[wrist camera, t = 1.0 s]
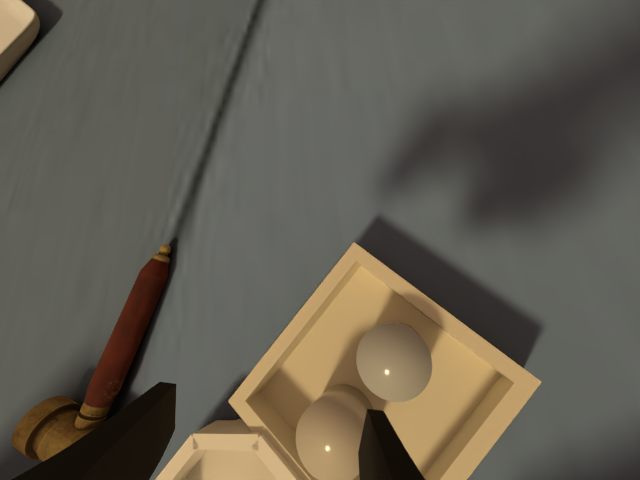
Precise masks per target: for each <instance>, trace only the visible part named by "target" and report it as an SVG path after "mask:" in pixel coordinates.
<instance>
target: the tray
mask: <svg viewBox="0 0 640 480" xmlns="http://www.w3.org/2000/svg"><path fill="white" fill-rule="evenodd" d="M386 322H401V323H404V324H407V325H408V326H410V327H412V328H413V329H414V330H415V331H416V332H417V333H418V334H419V335H420V336H421V338H422V339H423V340H424V342H425V343H426V345H427V347H428V349H429V352H430V354H431V359H432V374H431V378H430V381H429V383H428V385H427V386H426V388H425V389H424V390H423V392H422V393H421V394H419V395H418V396H417V397H415V398H413V399H411V400H408V401H404V402H392V401H388V400H385V399H382V398H380V397H378V396H377V395H375V394H374V393H373V392H371V391H370V390H369V389H368V388H367V387H366V385H365V384H364V382H363V381H362V379H361V377H360V375H359V372H358V368H357V362H356V356H357V349H358V346H359V343H360V341H361V339H362V338H363V337H364V335H365V334H366V333H367V332H368V331H369V330H371V329H372V328H374V327H376V326H378V325H380V324H383V323H386ZM339 384H346V385H351V386H353V387H356V388H357V389H359V390H360V391H361V392H363V393H364V394H365V395H366V397H367V398H368V399H369V401H370V403H371V405H372V407H373V409H374V410H382V411H384V412H385V414H386V416H387V417H388V419H389V421H390V423H391V425H392V426H393V428H394V430H395V432H396V433H397V435H398V437H399V439H400V440H401V442H402V444H403V445H404V447H405V449H406V450H407V452H408V454H409V455H410V457H411V458H412V460H413V461H414V463H415V465H416V466H417V468H418V469H419V471H420V472H421V474H422V475H423V477H424V478H425V480H467V479H468V477H469V476H470V475H471V474H472V472H473V471H474V470H475V468H476V467H477V466H478V464H479V463H480V462H481V460H482V459H483V458H484V457H485V455H486V454H487V453H488V451H489V450H490V449H491V447H492V446H493V445H494V444H495V442H496V441H497V440H498V438H499V437H500V436H501V434H502V433H503V432H504V431H505V429H506V428H507V427H508V425H509V424H510V423H511V421H512V420H513V419H514V418H515V416H516V415H517V414H518V412H519V411H520V410H521V408H522V407H523V406H524V405H525V403H526V402H527V401H528V399H529V398H530V397H531V395H532V394H533V393H534V391H535V390H536V389H537V388H538V386H539V385H540V384H541V381H540V380H538V379H537V378H536V377H534V376H533V375H532V374H530V373H529V372H528V371H526V370H525V369H524V368H522V367H521V366H519V365H518V364H517V363H515V362H514V361H513V360H511V359H510V358H509V357H507V356H506V355H505V354H503V353H502V352H501V351H499V350H498V349H497V348H495V347H494V346H493V345H491V344H490V343H489V342H487V341H486V340H485V339H483V338H482V337H481V336H479V335H478V334H477V333H475V332H474V331H473V330H471V329H470V328H469V327H467V326H466V325H465V324H463V323H462V322H460V321H459V320H458V319H456V318H455V317H454V316H452V315H451V314H450V313H448V312H447V311H446V310H444V309H443V308H442V307H440V306H439V305H438V304H436V303H435V302H434V301H432V300H431V299H430V298H428V297H427V296H426V295H424V294H423V293H422V292H420V291H419V290H418V289H416V288H415V287H414V286H412V285H411V284H410V283H408V282H407V281H406V280H404V279H403V278H401V277H400V276H399V275H397V274H396V273H395V272H393V271H392V270H391V269H389V268H388V267H387V266H385V265H384V264H383V263H381V262H380V261H379V260H377V259H376V258H375V257H373V256H372V255H371V254H369V253H368V252H367V251H365V250H364V249H363V248H361V247H360V246H359V245H357V244H356V243H355V242H354V243H353V244H352V245H351V247H350V248H349V249H348V250H347V252H346V253H345V254H344V255H343V257H342V258H341V259H340V260H339V262H338V263H337V264H336V266H335V267H334V268H333V269H332V271H331V272H330V273H329V274H328V276H327V277H326V278H325V279H324V281H323V282H322V283H321V284H320V286H319V287H318V288H317V289H316V291H315V292H314V293H313V295H312V296H311V297H310V298H309V300H308V301H307V302H306V303H305V305H304V306H303V307H302V308H301V310H300V311H299V312H298V313H297V315H296V316H295V317H294V319H293V320H292V321H291V322H290V324H289V325H288V326H287V327H286V329H285V330H284V331H283V332H282V334H281V335H280V336H279V337H278V339H277V340H276V341H275V342H274V344H273V345H272V346H271V348H270V349H269V350H268V351H267V353H266V354H265V355H264V356H263V358H262V359H261V360H260V361H259V363H258V364H257V365H256V366H255V368H254V369H253V370H252V372H251V373H250V374H249V375H248V377H247V378H246V379H245V380H244V382H243V383H242V384H241V385H240V387H239V388H238V389H237V390H236V392H235V393H234V394H233V395H232V397H231V398H230V399H229V401H228V402H229V403H230V405H231V406H232V407H233V408H234V410H235V411H236V412H237V413H238V415H239V416H240V417H241V418H242V419H243V421H244V422H245V423H246V424H247V426H248V427H249V428H250V429H251V430H252V432H261V434H264V435H265V436H266V438H267V439H268V440H269V441H270V442H271V444H272V445H273V446H274V447H275V449H276V450H277V451H278V452H279V453H280V455H281V456H282V457H283V458H284V459H285V461H286V462H287V463H288V464H289V465H290V467H291V468H292V469H293V470H294V472H295V473H296V474H297V475H298V476H299V478H300V479H301V480H318V479H316V478H315V477H313V476H312V475H311V474H310V473H309V472H308V471H307V470H306V468H305V467H304V465H303V464H302V462H301V460H300V458H299V455H298V452H297V447H296V429H297V425H298V422H299V420H300V418H301V416H302V414H303V413H304V412H305V410H306V409H307V408H308V407H309V406H310V405H311V404H313V403H314V402H315V401H316V400H317V399H318V398H319V397H320V396H321V395H322V394H323V393H324V392H325V391H326V390H327V389H329V388H330V387H332V386H335V385H339ZM353 480H360V477H359V474H358V475H357V476H356V477H355V478H354V479H353Z"/></svg>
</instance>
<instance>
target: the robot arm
mask: <svg viewBox="0 0 640 480" xmlns="http://www.w3.org/2000/svg"><path fill="white" fill-rule="evenodd" d="M175 406H176V384H172V383H164V382H159V383H158V384H156V385H155V386H154V387H152V388H151V389H149V390H148V391H147V392H145V393H144V394H143V395H141V396H140V397H139V398H137V399H136V400H134V401H133V402H132V403H130V404H129V405H128V406H126V407H125V408H124V409H122V410H121V411H119V412H118V413H117V414H115V415H114V416H112V417H111V418H110V419H108V420H107V421H105V422H104V423H103V424H101V425H100V426H98V427H97V428H95V429H94V430H92V431H91V432H89V433H88V434H86V435H85V436H83V437H82V438H80V439H79V440H77V441H76V442H74V443H73V444H71V445H70V446H68V447H67V448H65V449H63V450H62V451H60V452H59V453H57V454H55V455H54V456H52V457H50V458H49V459H47V460H45V461H44V462H42V463H40V464H38V465H37V466H35V467H33V468H32V469H30V470H28V471H26V472H25V473H23V474H21V475H19V476H17V477H16V478H14V479H12V480H149V479H150V477H151V475H152V474H153V472H154V470H155V469H156V467H157V465H158V463H159V462H160V460H161V458H162V456H163V454H164V452H165V450H166V448H167V445H168V443H169V441H170V439H171V437H172V434H173V432H174V430H175ZM358 459H359V477H360V480H425V478H424V477H423V475H422V474H421V472H420V471H419V469H418V468H417V466H416V465H415V463H414V461H413V460H412V458H411V457H410V455H409V454H408V452H407V450H406V449H405V447H404V445H403V444H402V442H401V440H400V439H399V437H398V435H397V433H396V432H395V430H394V428H393V426H392V425H391V423H390V421H389V419H388V417H387V416H386V414H385V412H384V411H382V410H374V409H367V412H366V417H365V422H364V426H363V431H362V436H361V441H360V446H359V451H358Z"/></svg>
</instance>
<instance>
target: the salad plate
mask: <svg viewBox="0 0 640 480" xmlns="http://www.w3.org/2000/svg"><path fill="white" fill-rule="evenodd" d="M39 28H40V21H39V18H38V15H37V14H36V12H35V11H34V10H33V9H32V8H31V7H30V6H28V5H27V4H26V3H25V2H23V1H22V0H0V81H1V80H2V79H3V78H4V77H5V75H6V74H7V73H8V72H9V71H10V69H11V68H12V67H13V66H14V65H15V64H16V62H17V61H18V60H19V59H20V58H21V57H22V55H23V54H24V53H25V52H26V51H27V49H28V48H29V47H30V46H31V44H32V43H33V41H34V40H35V38H36V37H37V35H38V32H39Z"/></svg>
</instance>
